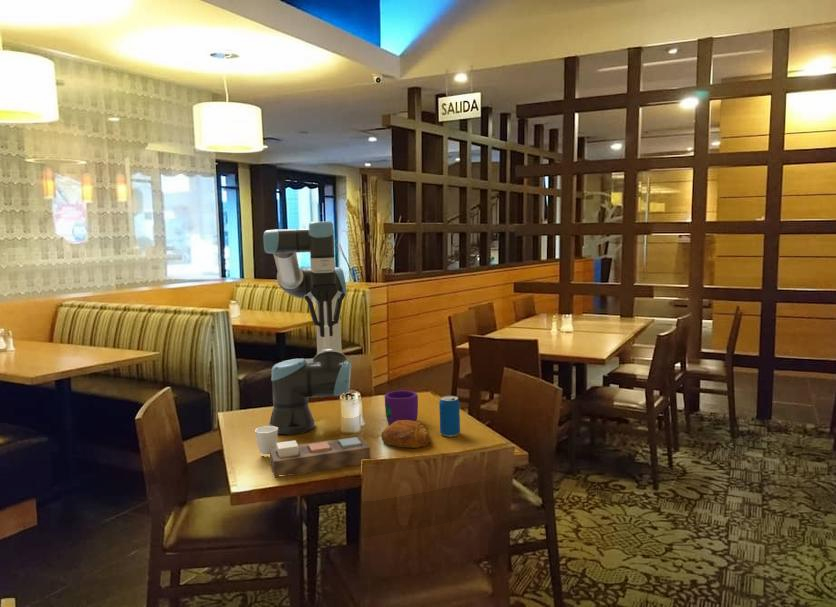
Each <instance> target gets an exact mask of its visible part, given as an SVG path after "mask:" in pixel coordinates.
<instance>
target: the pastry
mask: <svg viewBox="0 0 836 607" xmlns="http://www.w3.org/2000/svg"><path fill="white" fill-rule="evenodd" d="M380 435H381V436H380V437H381V440H382V442H383V443H384V444H386V445H389V446H395V447H399V448H409V449H410V448H413V449H416V448H420V447H421V448H422V447H425V446H427V445H428V443H429V442H430V441H431V435H430V432H429V431H428V428H427V426H426V425H425V423H423V422H420V421H418V420H416V421H411V420H397V421H395V422H393V423H392V424H389V425H388V426H386V427H385V428H384V429H383V430H382V431H381V433H380Z"/></svg>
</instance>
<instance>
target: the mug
mask: <svg viewBox="0 0 836 607" xmlns="http://www.w3.org/2000/svg"><path fill="white" fill-rule="evenodd" d="M384 407H385V408H384V409H385V418H386V421H387V423H388V424H389V425H391V424H392V423H393V422H395V421H397V420H411V421H418V414H419V398H418V393H417V392H415V391H413V390H412V391H411V390H406V389H405V390H403V389H402V390H393V391H389V392H386V393H385V395H384Z"/></svg>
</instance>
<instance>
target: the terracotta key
mask: <svg viewBox="0 0 836 607" xmlns="http://www.w3.org/2000/svg"><path fill="white" fill-rule="evenodd" d="M320 442H321V443H315V442H313V443H314V444H308V443H307V444H308V449H309V452H310V453H315V452H322V451H329V450H330V446H329V444H328V443H327V442H322V441H320Z"/></svg>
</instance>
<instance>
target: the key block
mask: <svg viewBox="0 0 836 607" xmlns="http://www.w3.org/2000/svg"><path fill="white" fill-rule="evenodd" d="M350 438H357V439H358V440H359V441H360V442H361V446H357V447H350V448H343V449H342V448H341V447H340V445H339V440H342V439H350ZM321 442H327V443H328V444H329V446H330V450H329V451H322V452H315V453H310V452H309V449H308V444H314V443H321ZM297 445H298V450H299V455H295V456H288V457H281V458H278V457H277V447H276V448H272V449H269V451H270V457H269V463H271V465H270V467H272V468H271V471H272V470H273V471H272V473H274V474H273V477H274V476H279V475H287V476H290V475H289V474H294V475H299V474H298V473H300V474H305V473H306V472H307V473H314V472H320V471H326V470H333V469H339V468H346V467H351V466H358V465H362V464H361V460H362V459H370V460H371V449H370V448H371V447H370V445H368V444H367V442H366V441H365V440H364V439H363V437H362V436H360V435H359V436H353V437H345V438H339V439H337V438H336V439H331V440H324V441H317V442H310V443H309V442H308V443H302V444H297Z"/></svg>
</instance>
